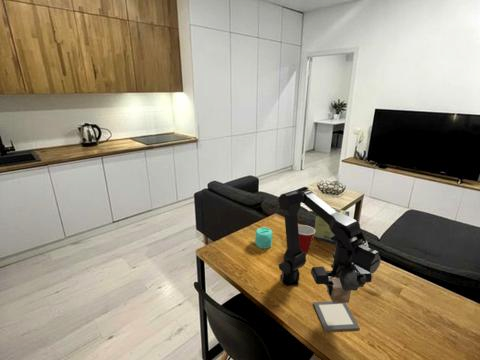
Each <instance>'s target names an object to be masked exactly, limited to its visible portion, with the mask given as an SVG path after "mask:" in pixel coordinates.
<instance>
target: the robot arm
mask: <svg viewBox="0 0 480 360" xmlns="http://www.w3.org/2000/svg"><path fill="white" fill-rule="evenodd" d="M278 204H279V205H278V206H279V210H280V211H281V212H282V213H283V215H284V225H285V237H286V238H285V239H286V251H285V252H284V254H283V261H282V262H280V263H279V264H278V269H279V270H280V271H281V274H280V278H281V282H282V285H283V286H284V287H287V286H288V287H289V286H291V287H292V286H299V285H300V283H299V281H300V274H301V273H300V271H299V269H300V268H302V267H304V266H305V265H306V263H307V259H306V258H307V257H306V255H307V254H306V253H305V252H302V250H301V249H300V245H299V232H298V225H299V221H298V213H299V210H300V208H301V204H304V205H305V206H306V207H307V208H308V209H309V210H311V211H312V212H313V213H314V214H315V215H316V214H317V215H318V216H319V217H320V218H322V219H323V220H324V221H325V222H326V223H327V224H328V225H329V227H330V230H331V232H332V233H333V234H334V235H335V236H333V237H331V238H330V239H331V240H333V241H335V242H336V244H335V248H334V253H332V258H333V263H331V264H330V267H331V268H332V269H331V270H326V269H325V267H324V266H313V267H312V268H311V269H310V274H311V276H312V279H314V282H315V284H317V285H324V286H326V289H327V290H328V292H327V294H328V293H329V294H328V296H329V295H331V293H332V285H334V284H333V282H332V279H333V278H339V280H340V282H341V285H342V288H343V290H345V291H349V290H351V291H354V292H355V291H357V290H358V289H359V288H364V287H365V284H366V283H371V282H372V281H373V275H374V273H376V272H377V270H378V269H379V267H380V265H381V261H382V259H381V256H380V255H379V254H380V253H379V251H377V250H375V249H373V248H370V247H369V246H368V247H366V246H364V244H365V243H366V241H367V240H366V237H365V236H364V233H363V231H362V229H361V225H360V223H359V221H357V220H356V219H354V218H352V217H350V215H349V216H347V215H343V214H340V213H338V212H336V211H335V210H334V209H335V208H333V207H331V206H330V205H329V204H327V202H325V201H324V200H322V199H321V198H320V197H318V196H317V195H315V194H314V192H313V191H312V190H311V189H306V190H302V191H296V190H289V191H287V192H284V193H282V194H280V195H279V196H278ZM332 208H333V209H332ZM355 237H356V238H357V239H356V240H354V241H351V240H352V239H353V238H355ZM354 264H355V265H354ZM327 290H326V291H327Z"/></svg>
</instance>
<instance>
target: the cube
mask: <svg viewBox="0 0 480 360" xmlns="http://www.w3.org/2000/svg"><path fill="white" fill-rule="evenodd" d="M332 282H333V284H334V285H332V293H331V295H329V293H328V290H326V292H327V294H328V296H329V298H330V301H332V302H333V303H346V304H348V303H350V298H351V292H352V290H349V291H345V290H343V288H342V285H341V282H340V280H339V278H332Z"/></svg>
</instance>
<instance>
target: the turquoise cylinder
mask: <svg viewBox="0 0 480 360" xmlns="http://www.w3.org/2000/svg"><path fill="white" fill-rule="evenodd" d="M254 238H255V239H254V242H255V243H254V244H255V245H256V246H257V248H259V249H269V248H271V247H272V244H273V231H272V229H270V228H269V227H264V226H263V227H259V228H257V229H256V231H255V237H254Z"/></svg>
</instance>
